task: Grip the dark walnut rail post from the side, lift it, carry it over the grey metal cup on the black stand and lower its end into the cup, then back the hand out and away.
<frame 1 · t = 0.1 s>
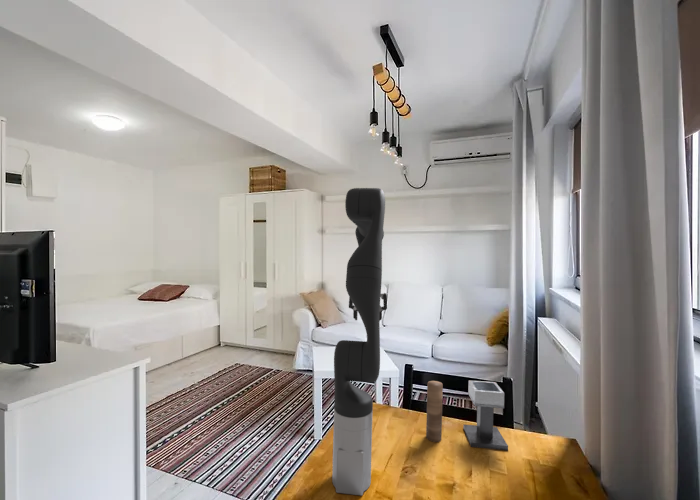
hand: (367, 320, 124), 29 cm above the table, tool pointing down, fingers open, 8 cm apart
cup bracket: (484, 438, 98), on the table
walnut rail post: (433, 437, 98), on the table
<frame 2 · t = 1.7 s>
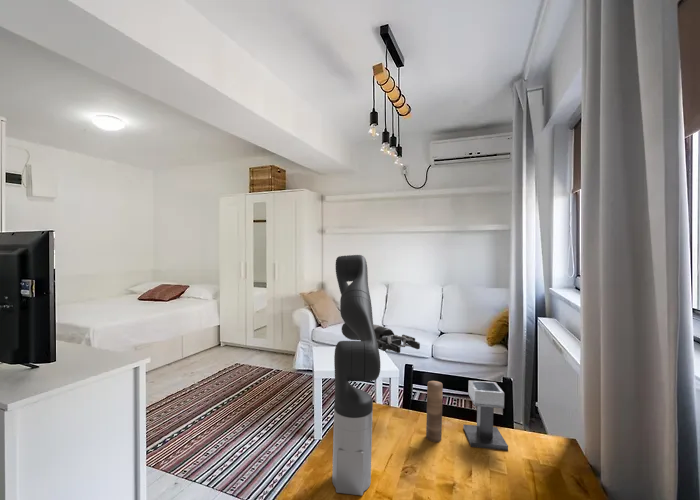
hand: (409, 348, 107), 24 cm above the table, tool horizontal, fingers open, 8 cm apart
nothing on the table moved.
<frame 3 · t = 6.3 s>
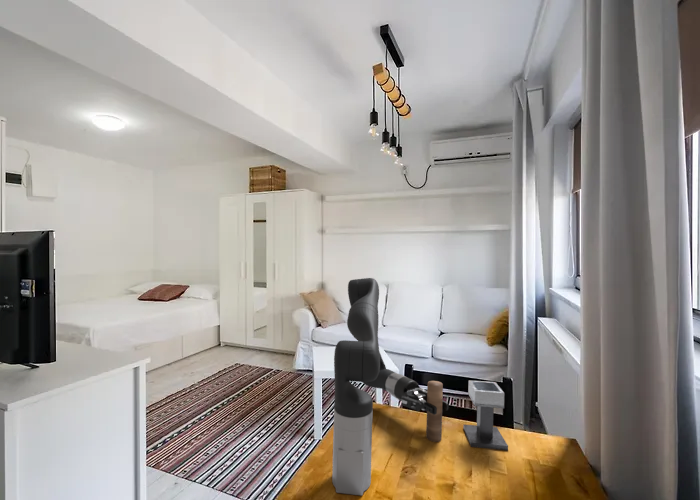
hand: (441, 408, 96), 10 cm above the table, tool horizontal, fingers closed on walnut rail post, 4 cm apart
walnut rail post: (433, 437, 98), on the table, touching gripper
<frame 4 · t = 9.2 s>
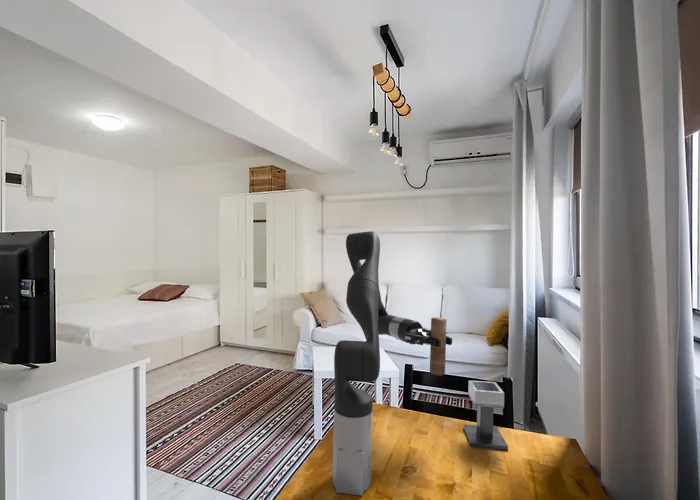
hand: (445, 342, 96), 29 cm above the table, tool horizontal, fingers closed on walnut rail post, 4 cm apart
walnut rail post: (437, 372, 98), point 19 cm above the table, touching gripper
when the fingers open (22 cm above the table, at t = 12.2 s): walnut rail post stays where it is, resting on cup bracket.
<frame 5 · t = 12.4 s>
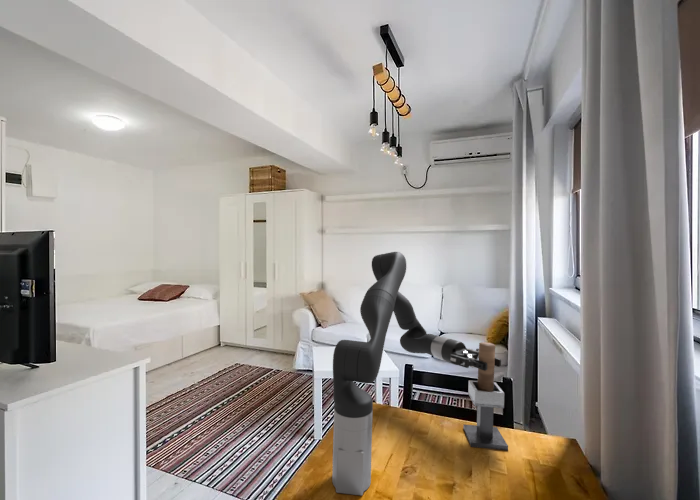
hand: (493, 365, 96), 23 cm above the table, tool horizontal, fingers open, 6 cm apart
walnut rail post: (485, 398, 98), point 12 cm above the table, touching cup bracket
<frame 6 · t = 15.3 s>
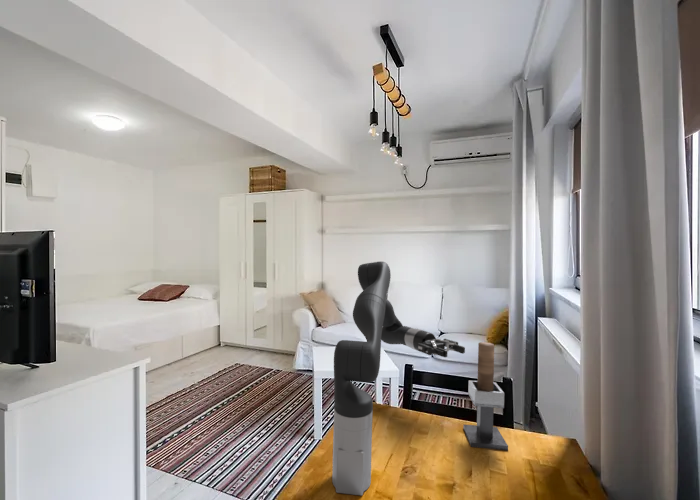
hand: (455, 352, 108), 23 cm above the table, tool horizontal, fingers open, 8 cm apart
nothing on the table moved.
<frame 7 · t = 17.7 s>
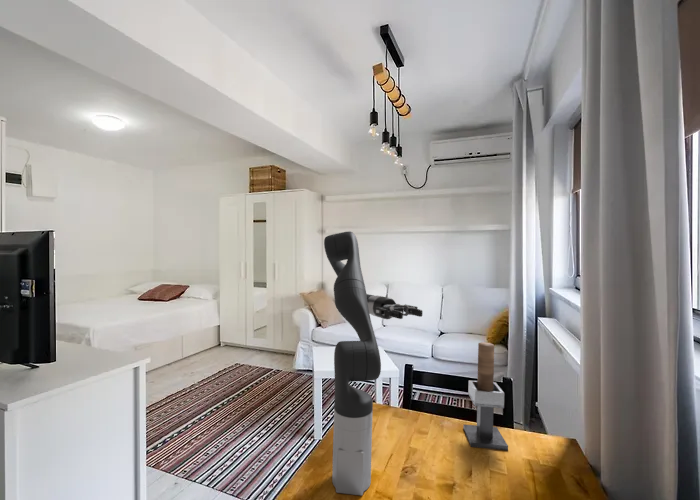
hand: (412, 314, 106), 35 cm above the table, tool horizontal, fingers open, 8 cm apart
nothing on the table moved.
at the end: walnut rail post 0.1 cm off-centre on the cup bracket, point 12.0 cm above the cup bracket's base; walnut rail post tilted 1°; the gripper is holding nothing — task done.
